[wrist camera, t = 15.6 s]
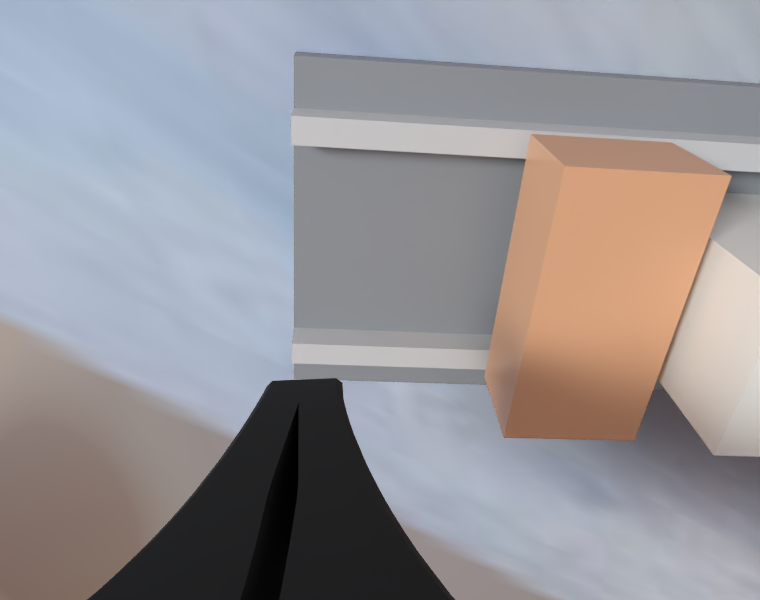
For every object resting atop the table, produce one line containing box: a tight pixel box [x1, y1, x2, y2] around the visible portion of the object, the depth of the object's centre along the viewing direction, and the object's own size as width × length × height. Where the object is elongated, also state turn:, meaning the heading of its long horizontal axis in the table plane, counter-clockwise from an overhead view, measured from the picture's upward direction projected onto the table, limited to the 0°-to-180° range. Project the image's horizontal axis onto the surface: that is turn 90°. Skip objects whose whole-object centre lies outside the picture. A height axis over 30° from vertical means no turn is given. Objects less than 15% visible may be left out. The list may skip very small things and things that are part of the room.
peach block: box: [484, 134, 732, 441], centre depth 17 cm, size 4×8×3 cm, turn 176°
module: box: [657, 193, 760, 457], centre depth 17 cm, size 4×4×7 cm
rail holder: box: [291, 52, 760, 390], centre depth 18 cm, size 20×11×6 cm, turn 86°
